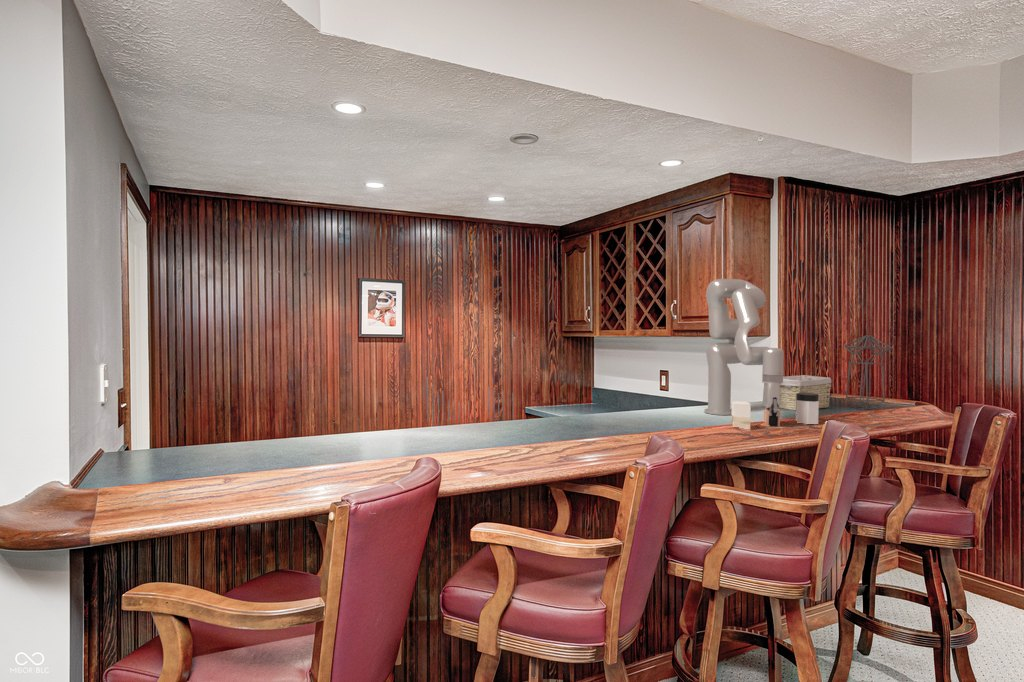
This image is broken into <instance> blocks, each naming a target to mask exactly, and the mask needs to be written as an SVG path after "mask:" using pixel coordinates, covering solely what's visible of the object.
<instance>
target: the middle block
mask: <svg viewBox="0 0 1024 682" xmlns="http://www.w3.org/2000/svg"><path fill="white" fill-rule="evenodd" d="M751 405H752V404H751V403H750V402H748V401H731V410H732V415H733V416H734V417H751ZM732 415H731V416H732Z"/></svg>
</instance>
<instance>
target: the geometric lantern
mask: <svg viewBox="0 0 1024 682" xmlns="http://www.w3.org/2000/svg"><path fill="white" fill-rule="evenodd" d="M878 342H879V343H880V344H881V345H880V344H879V343H878ZM854 343H855V344H854ZM852 344H854V345H853V346H850V345H852ZM867 344H868V346H867ZM882 345H884V346H885V347H883V346H882ZM843 347H844V348H845V349H846V350H848V352H850V354H851V355H850V357H849V361H848V373H847V380H846V381H847V383H846V392H845V398H846V399H847V401H849V402H850V403H851V408H852V407H854V408H853V409H857V408H860V409H859V410H862V409H868V405H870V407H871V408H870V409H874V407H872V406H875V407H876V408H878V409H879V406H880V405H881V404H883V403H884V402H885V401H886V399H885V363H884V360H883V355H884V354H885V353H887V352H888V351H889V350H891V349H893V347H892V346H890V345H889V344H887V343H884V341H883V342H882V341H881V340H879V339H877V338H875V337H874V336H872V335H867V334H866V335H864V336H861V337H859V338H857V339H855V340H853V341H851V342H849V343H847V344H844V345H843ZM866 348H868V349H869V350H870V351H871V353H872V355H871V356H870V357H869V358H868V359H867V360H865V358H864V357H863V356H862V354H861V353H862V352H863V351H864V350H866ZM852 349H853V350H852ZM857 349H858V350H857ZM877 350H878V351H877ZM855 355H857V357H858V359H859V360H860V361H853V359H854V356H855ZM877 356H880V362H873V361H874V360H875V358H876V357H877ZM871 358H872V359H871ZM870 359H871V360H870ZM869 361H870V362H869ZM853 364H858V365H860V364H861V372H860V375H861V376H860V390H859V391H860V392H859V396H848V394H849V388H850V387H849V386H850V381H851V380H850V379H851V373H852V365H853ZM868 365H869V373H868ZM871 365H881V379H882V381H881V382H882V395H883V396H882V398H875V397H871V377H872V376H871V372H872V366H871ZM864 366H865V368H864ZM863 374H864V377H863ZM868 375H869V377H868ZM863 379H864V380H863ZM862 387H863V388H862ZM865 387H866V388H865ZM865 389H866V390H865ZM865 391H866V395H865ZM851 400H856V401H860V402H853V401H851ZM869 402H879V403H869ZM854 404H855V405H857V406H854Z"/></svg>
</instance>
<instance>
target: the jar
mask: <svg viewBox="0 0 1024 682" xmlns="http://www.w3.org/2000/svg"><path fill="white" fill-rule="evenodd" d="M818 399H819V395H818V394H815V393H796V411H795V420H796V421H798V422H801V423H806V424H818V425H819V411H820V410H819V409H820V408H819V401H818ZM796 421H795V422H796ZM806 424H805V425H806Z"/></svg>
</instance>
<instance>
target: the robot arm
mask: <svg viewBox="0 0 1024 682" xmlns="http://www.w3.org/2000/svg"><path fill="white" fill-rule="evenodd" d="M705 299H706V303H707V310H708V330H709V331H708V332H709V336H710V337H711V338H712V339H714V340H719V341H720V340H721V341H722V340H723V341H725V340H728V342H715V343H714V342H713V343H711V344H710V345H708V347H707V348H706V353H705V354H706V360H707V366H708V371H707V372H708V374H707V376H708V382H707V383H708V389H707V390H708V391H707V398H708V399H707V408H705V409H704V410H703V412H704V413H706V414H710V415H716V416H729V415H730V416H732V409H731V403H732V401H731V400H732V399H731V396H732V395H731V391H732V390H731V389H732V373H731V372H732V371H731V370H730V368H729V364H730V365H731V364H742V365H744V366H762V371H761V372H762V373H761V374H762V375H761V376H762V377H761V378H762V379H761V381H762V383H764V384H763V390H762V391H763V392H762V405H763V407H765V409H770V416H769V425H770V426H769V427H772V426H778V411H779V410H778V409H781V408H780V384H782V383H783V377H784V355H785V354H784V349H782V348H778V347H768V346H750V343H749V339H748V338H749V337H748V336H749V332H750V330H752V329H754V328H755V327H757V326H759V325H760V324H761V318H760V315H759V311H758V309H760V308H763V307H764V306H765V305H766V301H767V298H766V294H765V292H764V291H763V290H762V289H761V288H759V287H758V286H756V285H754V284H753V283H751V282H749V281H747V280H745V279H739V278H738V279H737V278H718V279H713V280H712V281H711V282H710V283H709V284H708V285H707V287H706V291H705ZM724 299H731V303H732V305H733V309H734V313H735V316H736V318H730V317H729V311H730V310H729V307H728V305H727V302H726V301H725V300H724Z"/></svg>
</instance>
